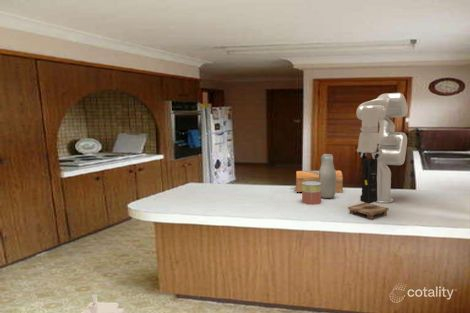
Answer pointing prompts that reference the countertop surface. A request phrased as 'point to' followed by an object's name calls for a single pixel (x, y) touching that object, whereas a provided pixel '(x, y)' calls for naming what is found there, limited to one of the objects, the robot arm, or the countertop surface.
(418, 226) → the countertop surface
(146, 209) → the countertop surface
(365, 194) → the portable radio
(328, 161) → the grey bottle
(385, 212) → the stand
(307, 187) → the canned food
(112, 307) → the bracket
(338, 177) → the wooden box
